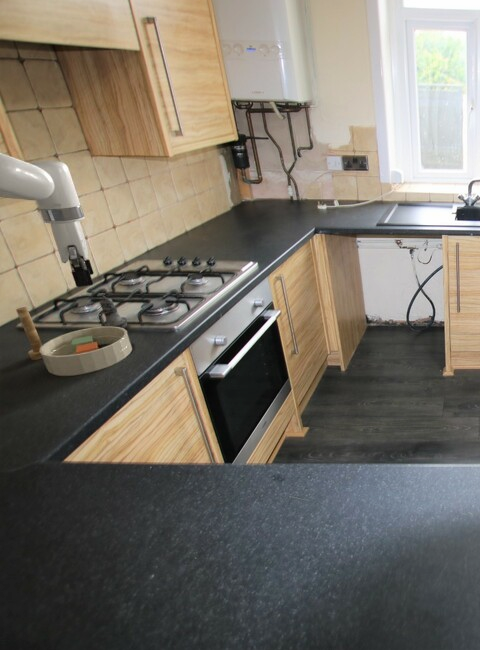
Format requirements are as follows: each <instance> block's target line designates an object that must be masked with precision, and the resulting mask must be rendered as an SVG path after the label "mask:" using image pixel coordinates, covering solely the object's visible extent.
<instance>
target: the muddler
mask: <svg viewBox="0 0 480 650" xmlns="http://www.w3.org/2000/svg"><path fill="white" fill-rule="evenodd" d="M15 311H16V313H17V316H18V318H19V320H20V323H21V325H22V328H23V330H24V332H25V334H26V337H27V341H28V342H29V344H30V347H31V350H29V351H28V356H29V358H30V359H31V361H38V360H43V359H42V357H41V355H40V352H39V351H40V348H41V347H42V346H43V344H42V341H41V338H40V336H39V334H38V331H37V328H36V327H35V324H34V321H33V318H32V316H31V314H30V311H29V309H28V307H27V306H23V307H22V306H21V307H17V308H15Z"/></svg>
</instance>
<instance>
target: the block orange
mask: <svg viewBox="0 0 480 650" xmlns="http://www.w3.org/2000/svg"><path fill="white" fill-rule="evenodd" d="M97 349H100V348H99V345H97V342H94V343H89V344H84V345H80V346H77V347H76V354H81V353H86V352H90V351H94V350H97Z"/></svg>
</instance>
